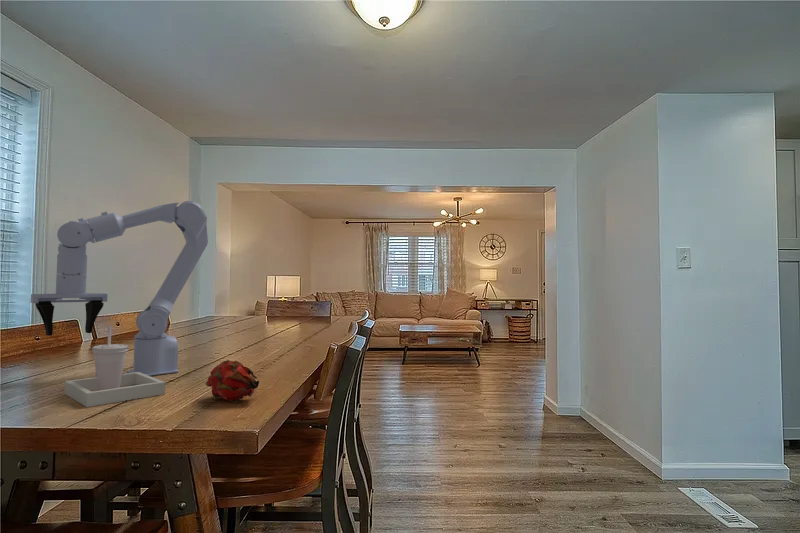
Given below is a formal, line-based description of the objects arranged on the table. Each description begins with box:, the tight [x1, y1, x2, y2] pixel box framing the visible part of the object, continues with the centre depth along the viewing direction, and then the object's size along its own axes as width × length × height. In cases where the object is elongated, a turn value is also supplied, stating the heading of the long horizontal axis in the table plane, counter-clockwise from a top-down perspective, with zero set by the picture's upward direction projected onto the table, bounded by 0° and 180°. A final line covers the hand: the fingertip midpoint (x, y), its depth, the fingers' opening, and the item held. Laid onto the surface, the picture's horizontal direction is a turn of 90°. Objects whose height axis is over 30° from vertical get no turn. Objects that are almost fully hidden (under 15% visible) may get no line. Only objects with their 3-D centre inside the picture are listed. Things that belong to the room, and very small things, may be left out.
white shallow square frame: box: [64, 372, 166, 408], centre depth 98 cm, size 14×14×2 cm
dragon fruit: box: [205, 359, 260, 404], centre depth 96 cm, size 8×8×12 cm
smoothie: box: [91, 325, 129, 391], centre depth 98 cm, size 6×6×14 cm
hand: (69, 333), depth 109 cm, fingers open, 7 cm apart
